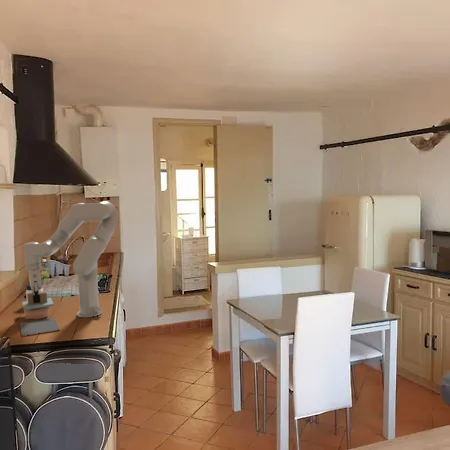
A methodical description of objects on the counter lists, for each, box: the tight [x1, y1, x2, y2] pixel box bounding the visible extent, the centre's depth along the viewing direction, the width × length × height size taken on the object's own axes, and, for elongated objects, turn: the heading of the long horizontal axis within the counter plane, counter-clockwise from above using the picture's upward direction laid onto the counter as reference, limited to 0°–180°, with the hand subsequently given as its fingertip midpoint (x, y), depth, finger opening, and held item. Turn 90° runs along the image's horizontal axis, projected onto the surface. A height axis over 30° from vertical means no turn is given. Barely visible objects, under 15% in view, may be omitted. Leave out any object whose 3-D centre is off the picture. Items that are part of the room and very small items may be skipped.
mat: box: [19, 317, 60, 337], centre depth 215 cm, size 20×16×1 cm
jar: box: [25, 282, 44, 301], centre depth 252 cm, size 9×8×12 cm
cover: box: [21, 290, 55, 311], centre depth 232 cm, size 14×14×6 cm
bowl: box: [23, 306, 51, 320], centre depth 232 cm, size 12×12×5 cm
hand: (36, 301), depth 232 cm, fingers closed on cover, 4 cm apart
